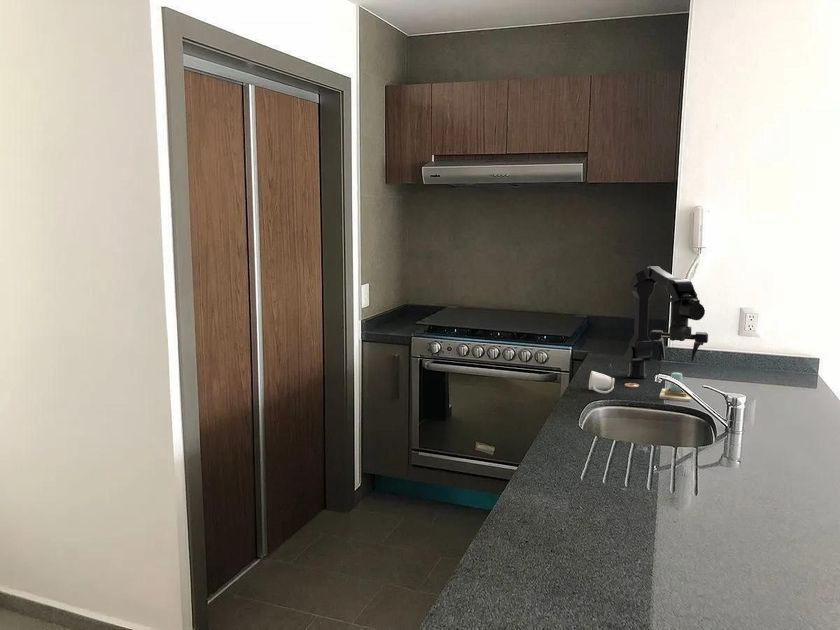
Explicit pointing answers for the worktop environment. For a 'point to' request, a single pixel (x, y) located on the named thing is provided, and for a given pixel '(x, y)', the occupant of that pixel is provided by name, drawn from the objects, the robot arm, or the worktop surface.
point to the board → (673, 395)
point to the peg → (678, 377)
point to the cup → (600, 382)
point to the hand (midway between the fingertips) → (677, 360)
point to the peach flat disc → (631, 385)
